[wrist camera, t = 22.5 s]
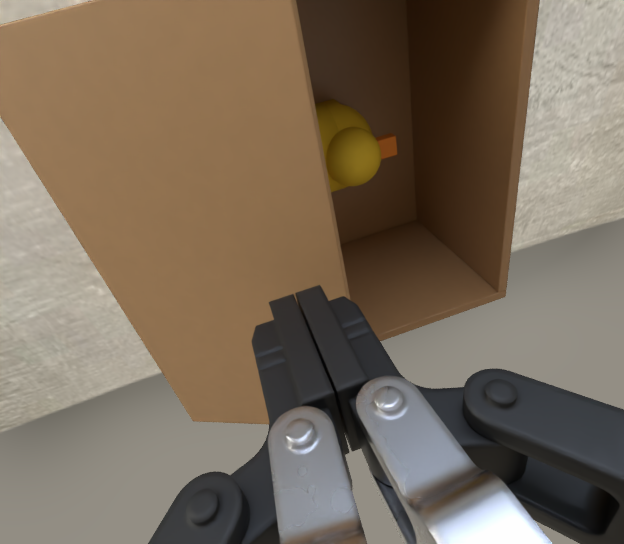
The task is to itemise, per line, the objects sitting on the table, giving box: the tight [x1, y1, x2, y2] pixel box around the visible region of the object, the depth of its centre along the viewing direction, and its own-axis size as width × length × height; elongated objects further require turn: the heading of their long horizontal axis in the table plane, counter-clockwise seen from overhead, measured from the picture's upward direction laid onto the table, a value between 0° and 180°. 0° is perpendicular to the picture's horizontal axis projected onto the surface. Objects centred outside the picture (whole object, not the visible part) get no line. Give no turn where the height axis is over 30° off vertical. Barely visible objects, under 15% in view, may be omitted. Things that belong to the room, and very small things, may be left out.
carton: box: [296, 0, 540, 341], centre depth 20 cm, size 17×16×10 cm
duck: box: [315, 99, 397, 192], centre depth 21 cm, size 7×4×6 cm, turn 101°
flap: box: [0, 0, 350, 424], centre depth 13 cm, size 8×16×1 cm, turn 12°
